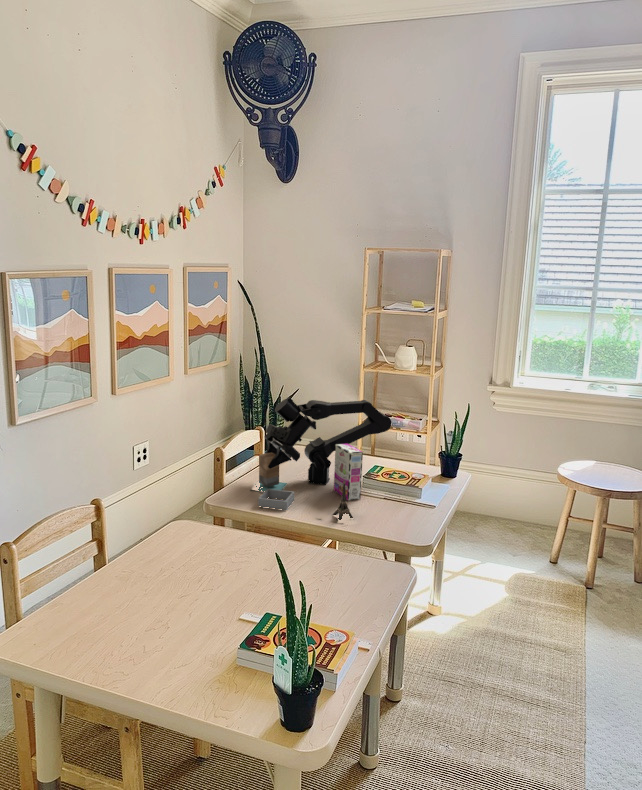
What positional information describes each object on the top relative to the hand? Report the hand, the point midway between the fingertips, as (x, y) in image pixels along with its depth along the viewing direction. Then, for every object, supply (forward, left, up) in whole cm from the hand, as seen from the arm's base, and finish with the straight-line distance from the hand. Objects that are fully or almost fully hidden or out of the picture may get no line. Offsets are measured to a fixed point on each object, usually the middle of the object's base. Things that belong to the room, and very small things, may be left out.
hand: (265, 465), depth 222 cm
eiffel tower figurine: (-30, +18, -9) cm, 36 cm away
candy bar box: (-28, -2, -8) cm, 29 cm away
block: (-1, -1, -7) cm, 7 cm away
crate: (-8, +13, -8) cm, 17 cm away
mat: (-1, -1, -8) cm, 8 cm away
